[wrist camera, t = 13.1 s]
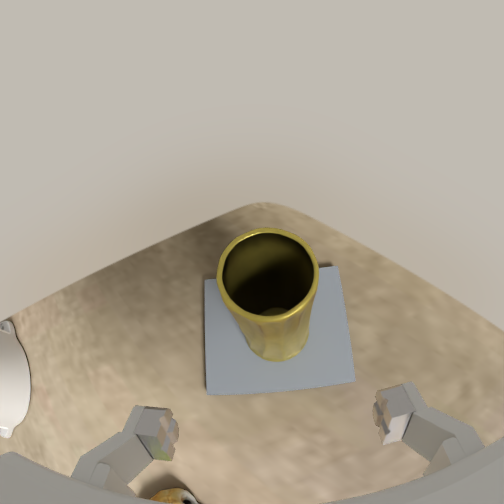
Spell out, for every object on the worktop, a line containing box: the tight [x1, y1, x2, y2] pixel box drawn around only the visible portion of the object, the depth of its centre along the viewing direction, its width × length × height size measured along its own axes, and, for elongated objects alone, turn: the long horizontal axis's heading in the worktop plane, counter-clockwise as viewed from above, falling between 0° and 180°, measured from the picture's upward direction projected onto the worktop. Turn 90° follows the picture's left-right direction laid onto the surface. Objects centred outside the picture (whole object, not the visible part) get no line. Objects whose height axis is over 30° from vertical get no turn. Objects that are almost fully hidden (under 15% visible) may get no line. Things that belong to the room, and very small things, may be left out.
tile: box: [205, 266, 355, 395], centre depth 27 cm, size 14×12×1 cm
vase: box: [216, 228, 319, 362], centre depth 21 cm, size 6×6×14 cm
